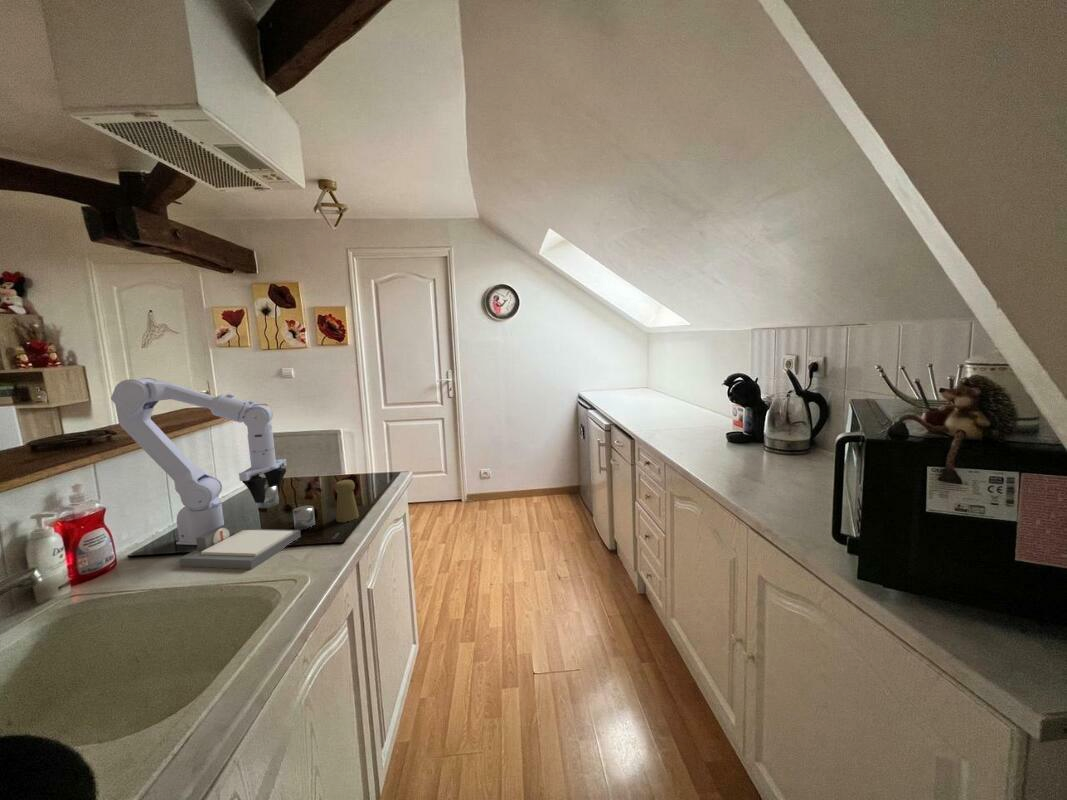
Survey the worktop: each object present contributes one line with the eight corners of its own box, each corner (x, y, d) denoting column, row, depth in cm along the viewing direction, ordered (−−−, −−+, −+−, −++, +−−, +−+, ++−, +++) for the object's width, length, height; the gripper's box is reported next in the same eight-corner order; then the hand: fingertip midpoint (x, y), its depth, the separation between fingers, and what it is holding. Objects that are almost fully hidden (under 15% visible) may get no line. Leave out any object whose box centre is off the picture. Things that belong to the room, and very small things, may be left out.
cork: (363, 514, 124) (359, 477, 123) (352, 522, 118) (348, 484, 117) (343, 514, 125) (340, 477, 123) (331, 522, 119) (328, 484, 117)
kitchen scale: (180, 566, 96) (177, 543, 95) (238, 535, 112) (236, 515, 111) (251, 569, 93) (248, 545, 93) (301, 537, 109) (298, 516, 109)
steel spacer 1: (252, 507, 113) (250, 489, 113) (266, 501, 118) (264, 483, 117) (270, 508, 112) (268, 489, 112) (283, 501, 117) (281, 483, 117)
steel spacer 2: (290, 529, 114) (288, 512, 114) (302, 522, 119) (301, 505, 119) (307, 530, 114) (305, 512, 113) (319, 522, 119) (317, 505, 118)
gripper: (254, 456, 106) (260, 508, 107) (294, 443, 120) (299, 490, 122) (229, 456, 107) (235, 508, 108) (271, 443, 121) (276, 490, 123)
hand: (267, 498), depth 115 cm, fingers closed on steel spacer 1, 5 cm apart
